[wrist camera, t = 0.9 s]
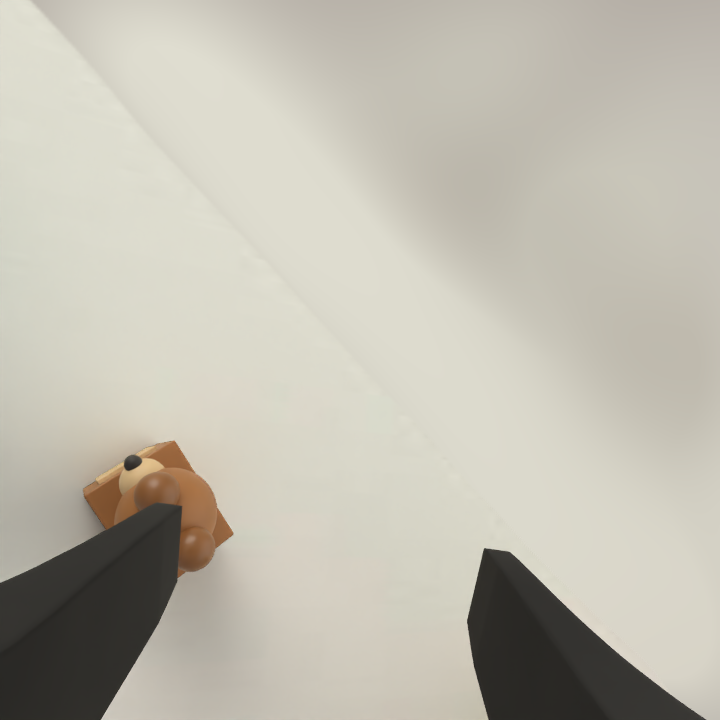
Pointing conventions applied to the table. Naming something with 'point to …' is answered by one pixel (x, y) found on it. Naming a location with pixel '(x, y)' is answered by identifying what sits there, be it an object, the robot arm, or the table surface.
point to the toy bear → (162, 500)
